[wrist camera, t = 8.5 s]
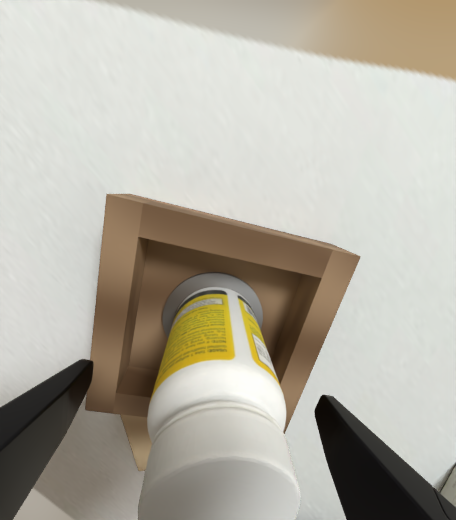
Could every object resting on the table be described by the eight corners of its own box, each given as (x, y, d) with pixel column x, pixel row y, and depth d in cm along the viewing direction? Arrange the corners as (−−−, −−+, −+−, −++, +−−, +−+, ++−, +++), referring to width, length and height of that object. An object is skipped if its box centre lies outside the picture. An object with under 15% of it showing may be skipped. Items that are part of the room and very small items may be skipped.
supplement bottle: (163, 339, 13) (89, 557, 5) (193, 272, 12) (158, 419, 4) (234, 363, 14) (262, 581, 6) (268, 302, 13) (355, 473, 5)
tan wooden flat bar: (166, 455, 18) (164, 467, 17) (141, 459, 18) (138, 471, 17) (146, 376, 15) (142, 385, 15) (117, 379, 15) (112, 389, 15)
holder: (272, 395, 17) (284, 433, 14) (107, 371, 15) (85, 410, 12) (331, 244, 14) (360, 256, 11) (130, 194, 12) (106, 193, 9)
